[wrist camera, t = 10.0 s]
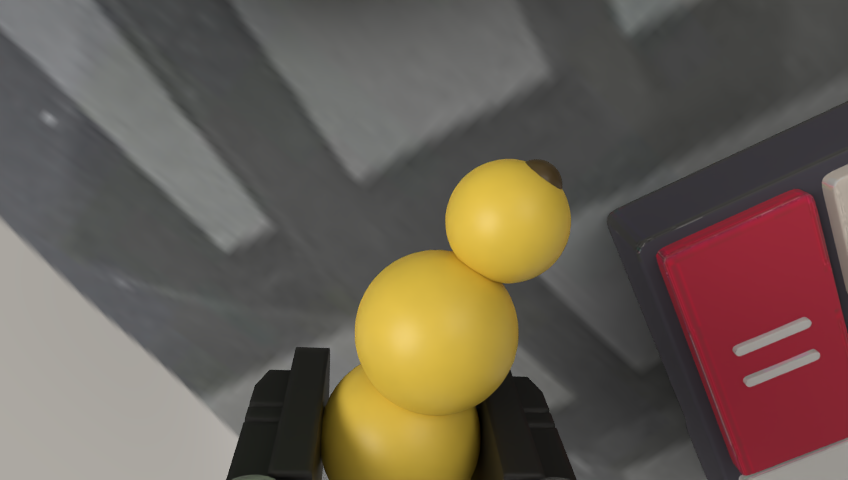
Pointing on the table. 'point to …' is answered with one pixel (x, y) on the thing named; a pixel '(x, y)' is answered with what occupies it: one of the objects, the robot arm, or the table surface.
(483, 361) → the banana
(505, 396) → the robot arm
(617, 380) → the table surface
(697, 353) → the calculator
